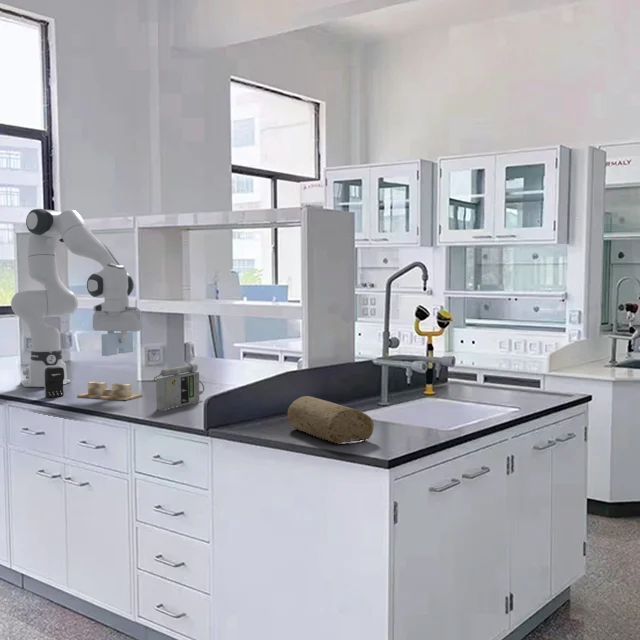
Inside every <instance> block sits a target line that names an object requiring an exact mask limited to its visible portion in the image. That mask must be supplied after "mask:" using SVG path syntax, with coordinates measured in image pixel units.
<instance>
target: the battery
mask: <svg viewBox="0 0 640 640" xmlns="http://www.w3.org/2000/svg"><path fill="white" fill-rule="evenodd" d="M63 380H64V369H63V368H62V367H60V366H50V367H46V368H45V369H44V387H43V388H44V398H57V396H59V397H63V396H64V395H65V394H64V393H65V392H64V385H63Z"/></svg>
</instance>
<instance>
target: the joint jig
mask: <svg viewBox="0 0 640 640" xmlns="http://www.w3.org/2000/svg"><path fill="white" fill-rule="evenodd" d="M111 387H112V388H108V383H107V382H102V381H101V382H99V381H98V382H97V381H89V382H87V392H83V393H79V394H77V395H76V397H77V398H83V397H90V398H89V399H95V398H101V399H100V400H108V399H111V400H112V401H121V400H127V401H130V400H129V399H131V400H134V399H133V398H135V399H138V398H142V397H143V394H142V393H132V392H133V391H132V384H129V383H112V384H111ZM141 396H142V397H141ZM111 400H110V401H111Z"/></svg>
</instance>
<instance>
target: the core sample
mask: <svg viewBox="0 0 640 640" xmlns="http://www.w3.org/2000/svg"><path fill="white" fill-rule="evenodd" d="M287 418H288V422H289V425H290V426H291V427H292V428H293V429H295V430H297V429H298V430H297V431H300V432H302V431H303V432H302V433H304V432H306V433H305V434H307V433H308V434H307V435H310V434H311V436H312V435H313V437H315V436H316V437H315V438H318V437H319V438H318V439H321V438H322V439H321V440H324V439H325V440H324V441H326V440H328V441H327V442H330V441H331V442H330V443H333V442H334V443H333V444H336V443H342V442H351V441H360V440H366V439H368V440H369V439H371V436H372V434H373V432H374V425H375V424H374V420H373V419H372V418H371V416H369V415H368V414H367V413H364V412H363V411H361V410H358V409H355V408H352V407H349V406H348V407H347V406H344V405H342V404H339V403H334V402H332V401H328V400H326V399H325V400H324V399H320V398H317V397H315V396H308V395H305V396H301V397H299V398H296V399H294V401H293V402H292V403H291V404H290V405H289V407H288V409H287ZM366 441H367V440H366Z"/></svg>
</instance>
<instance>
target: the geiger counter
mask: <svg viewBox="0 0 640 640" xmlns="http://www.w3.org/2000/svg"><path fill="white" fill-rule="evenodd" d="M198 369H199V366H198V364H197V363H194V362H193V363H188V364H187V365H182V366H181V365H180V366H177V367H171V368H164V369H162V370H161V371H160V373H159V374H158V375H156V376H154V378H153V382H155V384H156V385H155V386H156V388H155V389H156V410H157V409H158V410H157V411H160V410H164V411H166V410H165V409H168V408H172V407H176V406H180V407H183V406H182V405H184V406H187V405H186V404H188V405H191V404H190V403H192V404H196V403H199V402H200V395H202V394H204V391H205V386H204V384H203V382H202V381H200V372H199V371H197V370H198ZM200 385H201V386H202V390H200ZM198 401H199V402H198ZM195 402H196V403H195ZM176 408H177V407H176ZM172 409H173V408H172ZM168 410H169V409H168Z"/></svg>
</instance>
